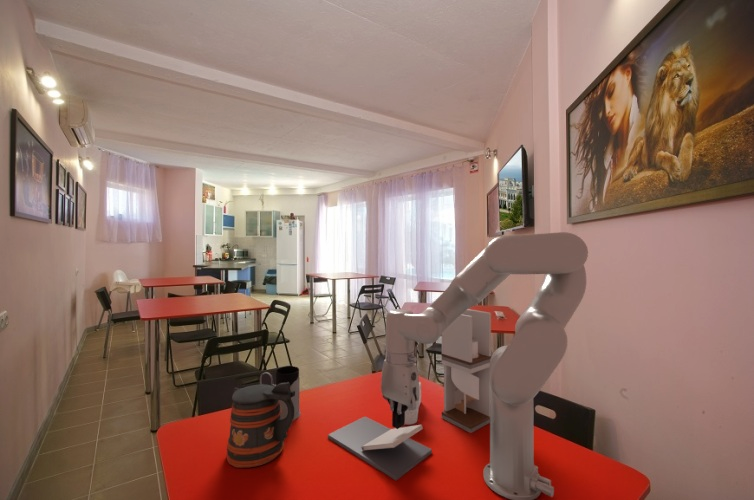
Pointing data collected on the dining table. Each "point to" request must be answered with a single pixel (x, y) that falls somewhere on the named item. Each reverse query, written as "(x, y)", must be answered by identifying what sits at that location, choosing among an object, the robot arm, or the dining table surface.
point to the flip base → (384, 459)
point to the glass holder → (293, 378)
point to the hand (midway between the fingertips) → (398, 425)
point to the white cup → (412, 415)
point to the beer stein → (258, 424)
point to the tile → (392, 438)
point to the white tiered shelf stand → (467, 370)
